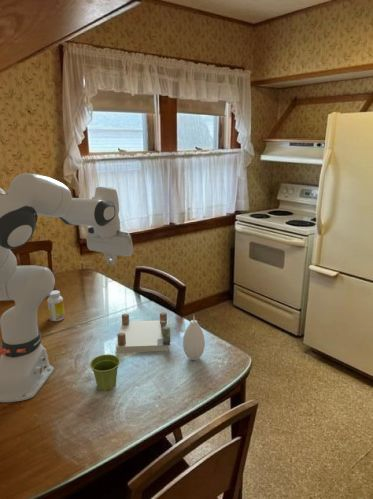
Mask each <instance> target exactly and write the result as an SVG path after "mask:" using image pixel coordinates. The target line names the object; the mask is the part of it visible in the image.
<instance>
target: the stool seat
mask: <svg viewBox="0 0 373 499" xmlns="http://www.w3.org/2000/svg"><path fill="white" fill-rule="evenodd" d="M161 321H166V326H168V327H169V320H168V315H167V312H165V311H164V312H163V311H162V312H160V313H159V320H130V314H129V313H123V314H121V322H120V325H119V326H120V327H119V332H118V333H117V335H116V337H117V340H116V346H115V348H116V353H117V354H118V353H122V354H123V353H142V352H145V353H146V352H165V351H166V352H167V351H170V346H171V341H170V342H169V343H164V342H163V334H162V332H161Z"/></svg>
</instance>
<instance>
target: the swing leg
mask: <svg viewBox="0 0 373 499" xmlns="http://www.w3.org/2000/svg"><path fill="white" fill-rule="evenodd" d="M161 332H162V334H163V342H164V343H169V342H170V343H171V327H170V326H169V325H168V326H166V321H161Z"/></svg>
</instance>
